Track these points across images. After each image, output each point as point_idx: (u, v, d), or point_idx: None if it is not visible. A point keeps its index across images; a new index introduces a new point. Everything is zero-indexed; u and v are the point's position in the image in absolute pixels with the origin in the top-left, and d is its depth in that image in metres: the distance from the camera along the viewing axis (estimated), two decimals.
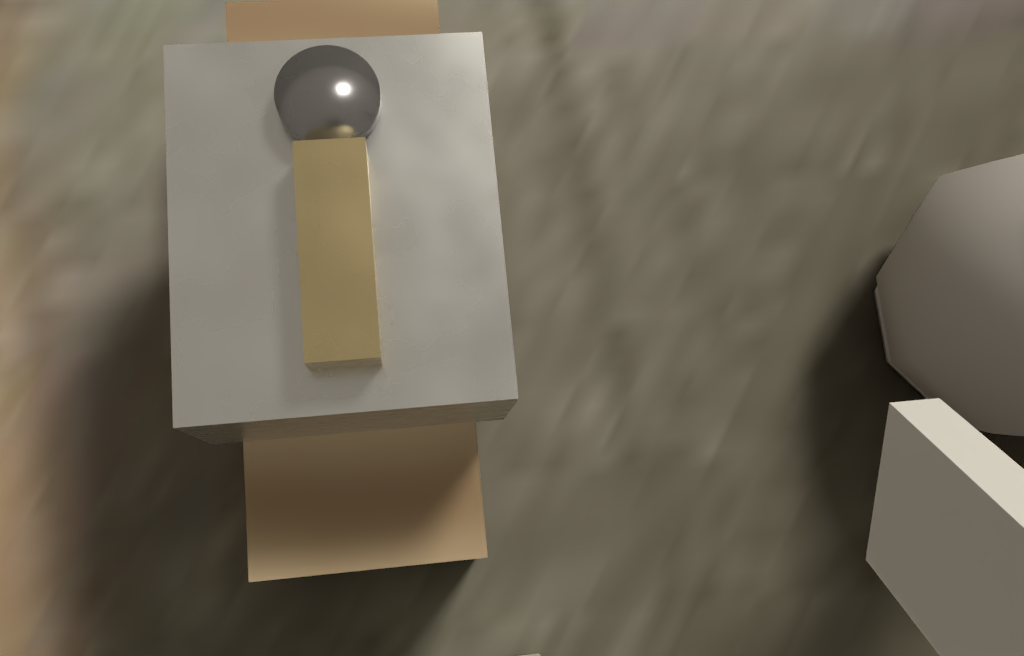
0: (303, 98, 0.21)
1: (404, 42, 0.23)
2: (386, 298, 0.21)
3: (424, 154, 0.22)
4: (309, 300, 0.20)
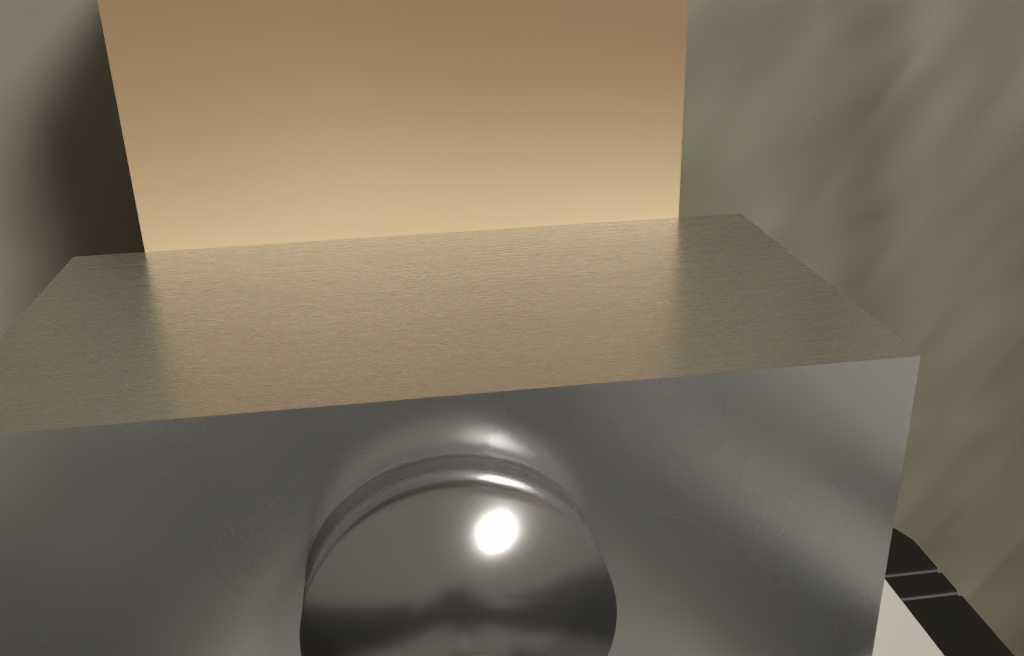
0: (389, 654, 0.07)
1: (686, 399, 0.07)
2: None
3: None
4: None
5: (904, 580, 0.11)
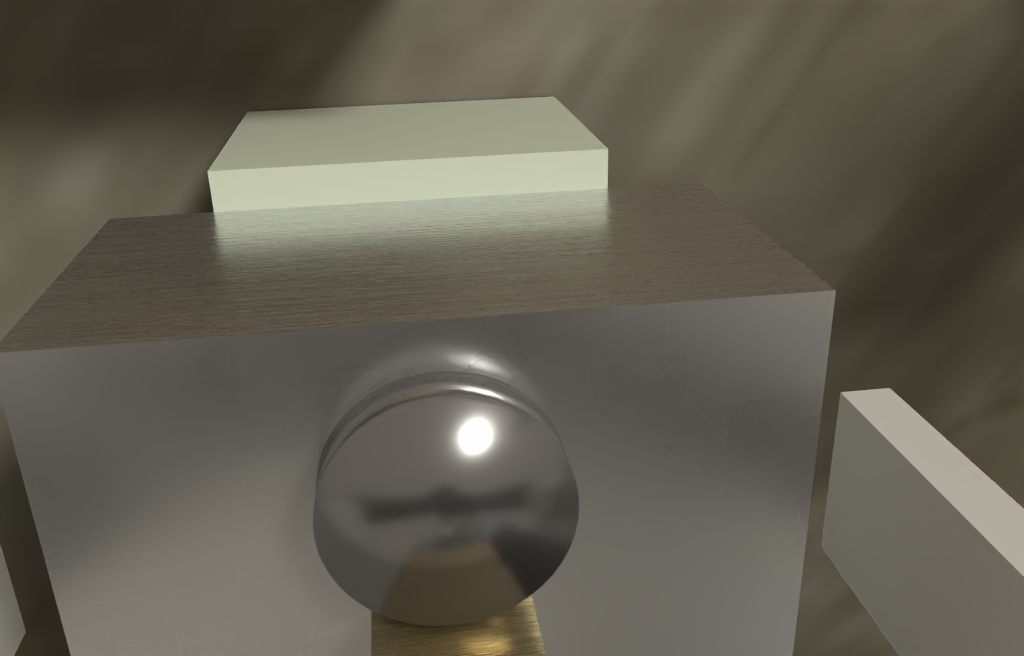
0: (388, 536, 0.08)
1: (637, 325, 0.09)
2: None
3: (654, 576, 0.10)
4: None
5: None
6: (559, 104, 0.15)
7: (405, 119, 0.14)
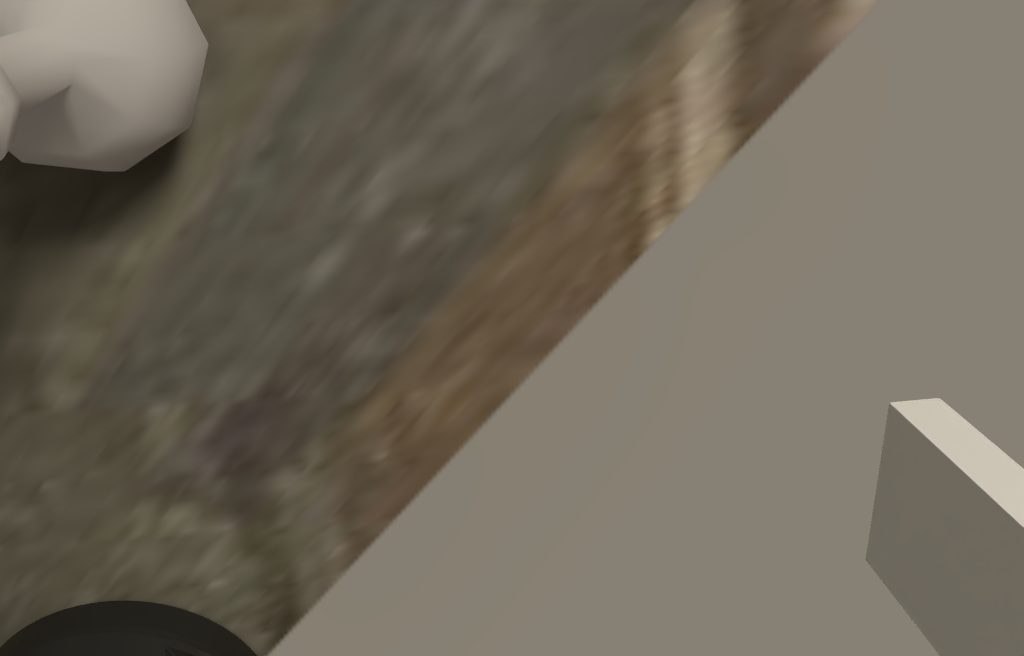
0: None
1: None
2: None
3: None
4: None
5: None
6: None
7: None
